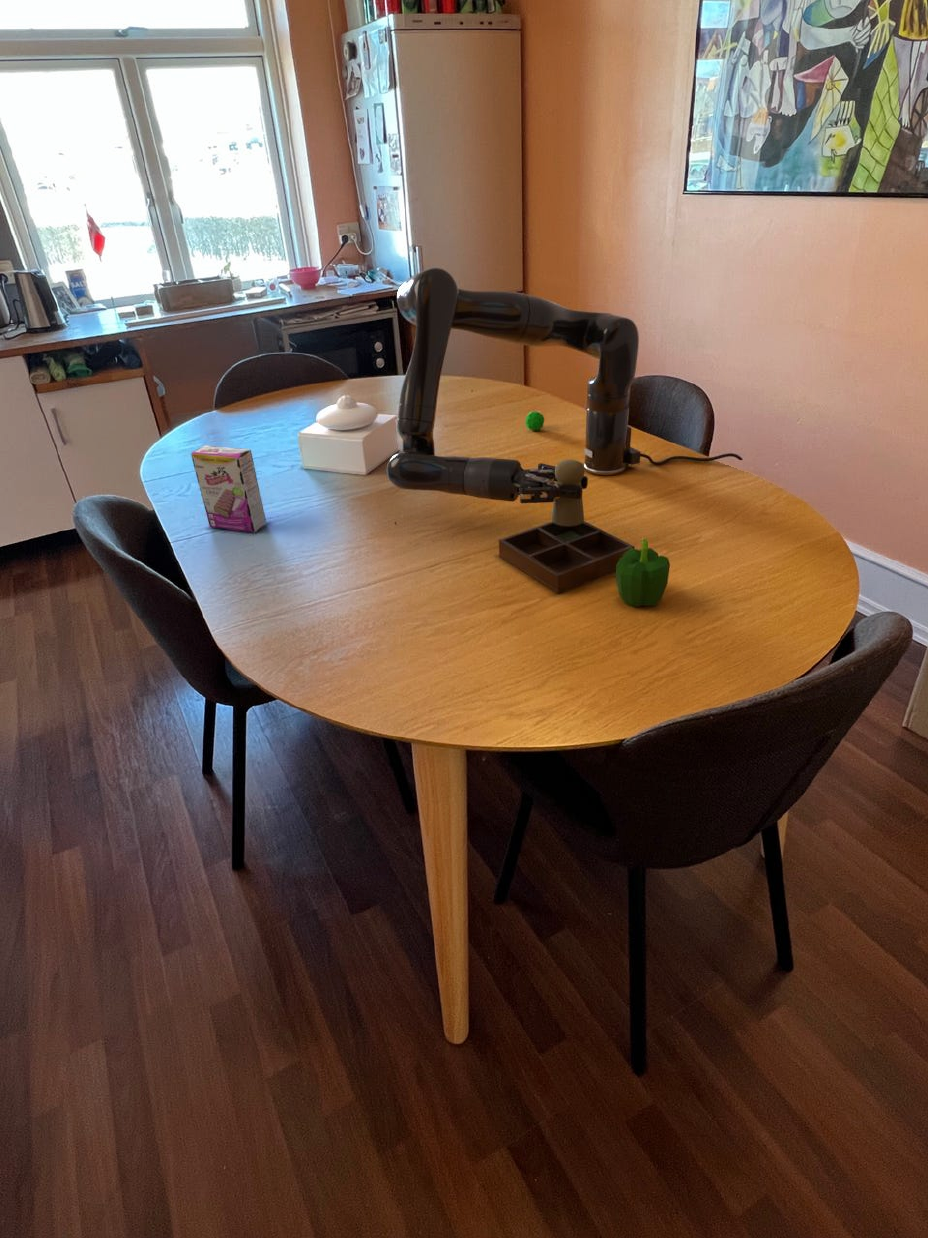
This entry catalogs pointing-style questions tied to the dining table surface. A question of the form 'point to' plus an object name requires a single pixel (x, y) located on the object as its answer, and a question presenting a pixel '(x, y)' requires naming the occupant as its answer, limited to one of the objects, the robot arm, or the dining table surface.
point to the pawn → (568, 508)
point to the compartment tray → (563, 554)
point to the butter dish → (348, 438)
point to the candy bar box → (229, 488)
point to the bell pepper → (642, 576)
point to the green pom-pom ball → (534, 421)
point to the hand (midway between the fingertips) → (584, 487)
